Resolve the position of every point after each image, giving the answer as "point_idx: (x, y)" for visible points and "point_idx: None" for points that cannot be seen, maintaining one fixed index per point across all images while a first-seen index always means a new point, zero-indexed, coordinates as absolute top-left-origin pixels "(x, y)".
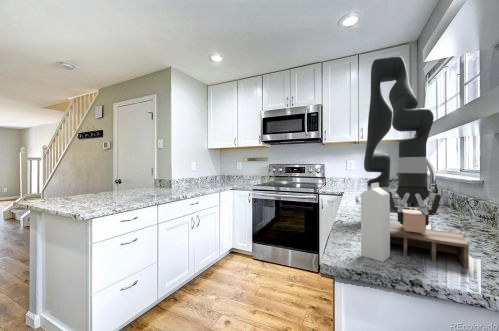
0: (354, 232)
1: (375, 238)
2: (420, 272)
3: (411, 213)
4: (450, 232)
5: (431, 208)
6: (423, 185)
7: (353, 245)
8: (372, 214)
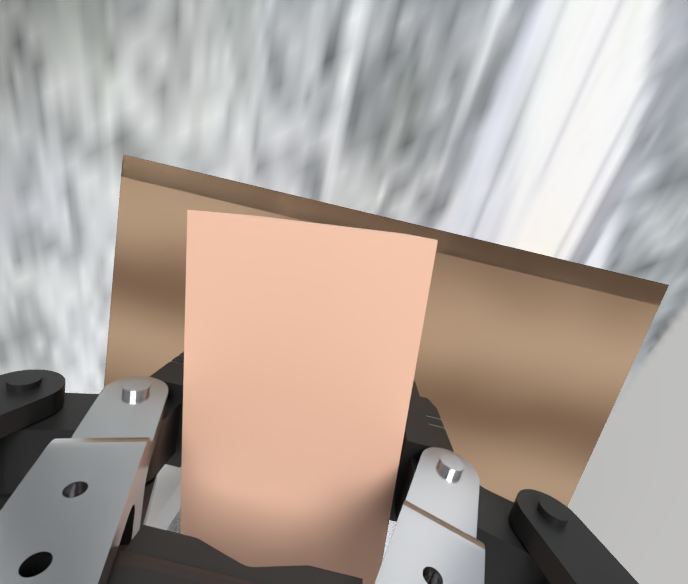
0: (27, 44)
1: None
2: None
3: (262, 523)
4: (605, 278)
5: (538, 556)
6: None
7: (62, 338)
8: None
